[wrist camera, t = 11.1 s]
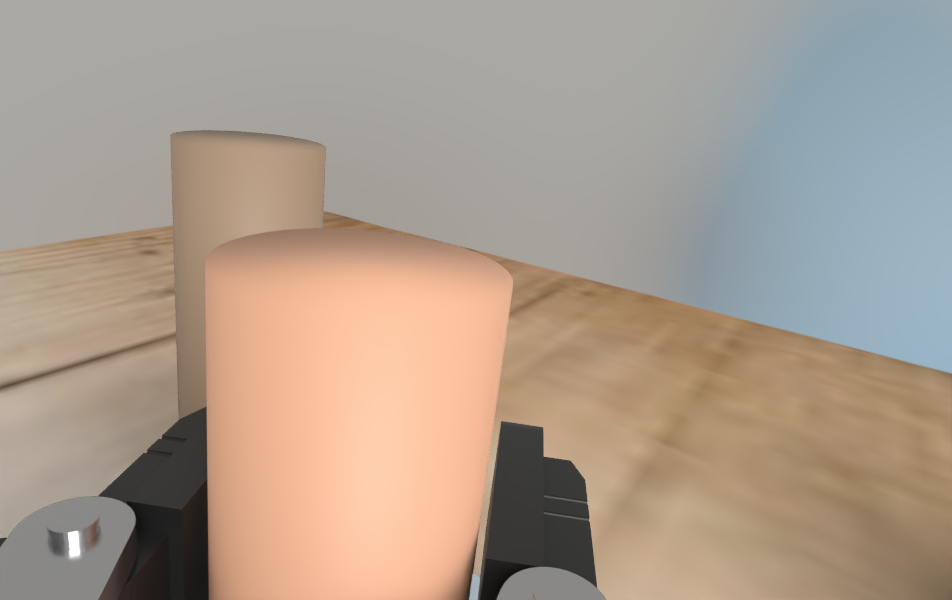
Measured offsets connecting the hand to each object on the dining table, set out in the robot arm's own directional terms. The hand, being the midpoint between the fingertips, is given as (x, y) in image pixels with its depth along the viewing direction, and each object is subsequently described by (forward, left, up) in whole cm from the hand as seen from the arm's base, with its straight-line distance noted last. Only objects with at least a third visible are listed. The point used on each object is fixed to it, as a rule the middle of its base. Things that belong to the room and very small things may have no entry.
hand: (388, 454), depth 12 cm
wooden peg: (+1, -2, -8) cm, 8 cm away
